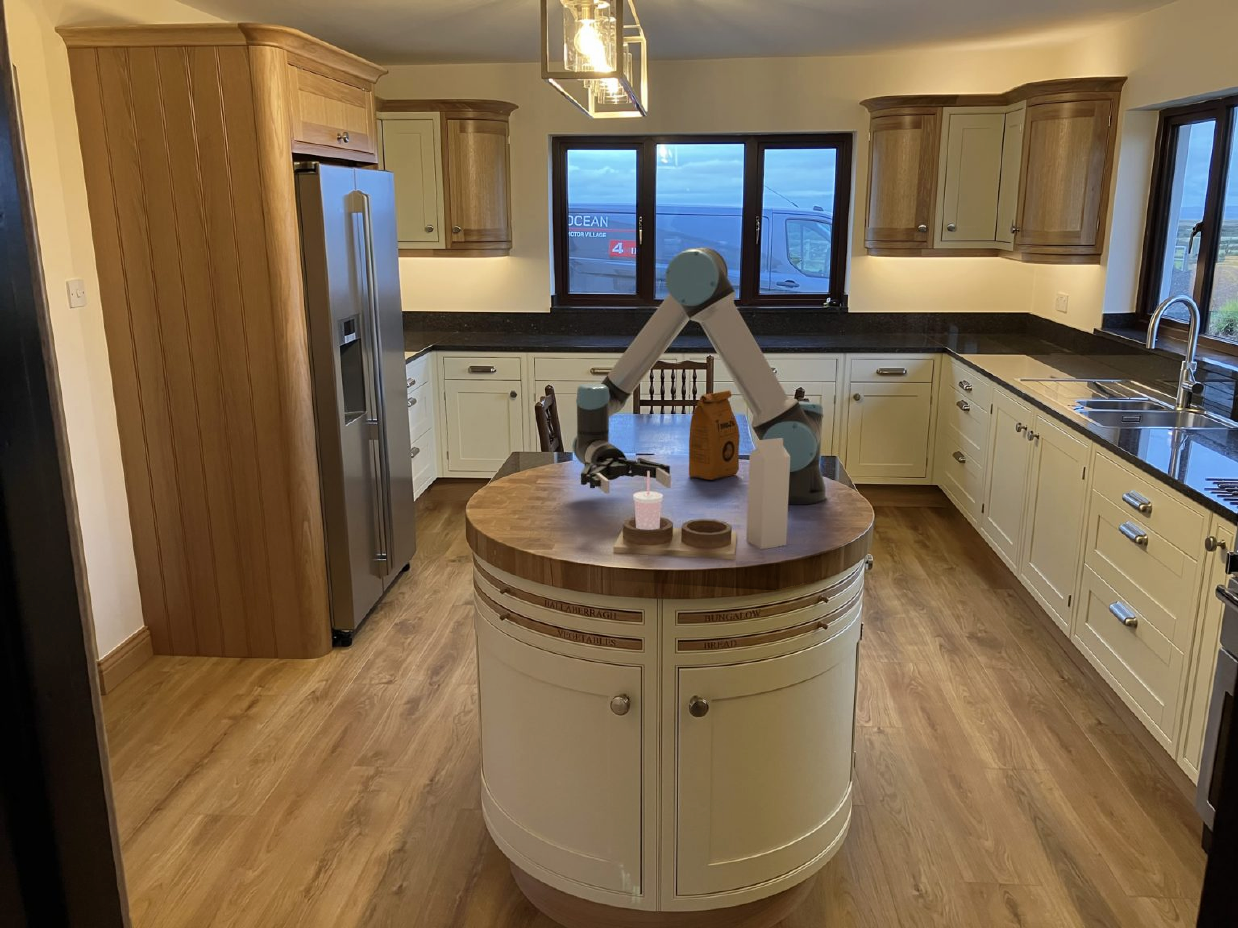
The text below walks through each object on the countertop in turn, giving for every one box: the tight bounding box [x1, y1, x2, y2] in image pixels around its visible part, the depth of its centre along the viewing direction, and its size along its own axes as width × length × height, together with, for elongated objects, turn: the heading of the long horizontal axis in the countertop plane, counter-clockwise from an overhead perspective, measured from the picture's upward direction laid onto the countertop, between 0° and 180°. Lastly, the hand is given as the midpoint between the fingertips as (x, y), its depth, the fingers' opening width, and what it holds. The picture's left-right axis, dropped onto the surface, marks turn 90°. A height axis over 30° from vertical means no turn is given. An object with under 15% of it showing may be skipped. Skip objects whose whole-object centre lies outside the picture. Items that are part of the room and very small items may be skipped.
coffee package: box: [688, 389, 741, 481], centre depth 250 cm, size 10×12×22 cm
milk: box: [745, 438, 790, 550], centre depth 199 cm, size 6×6×22 cm
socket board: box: [613, 516, 738, 560], centre depth 200 cm, size 24×14×4 cm, turn 81°
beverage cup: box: [632, 471, 664, 530], centre depth 200 cm, size 6×6×14 cm
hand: (638, 484), depth 203 cm, fingers open, 13 cm apart
